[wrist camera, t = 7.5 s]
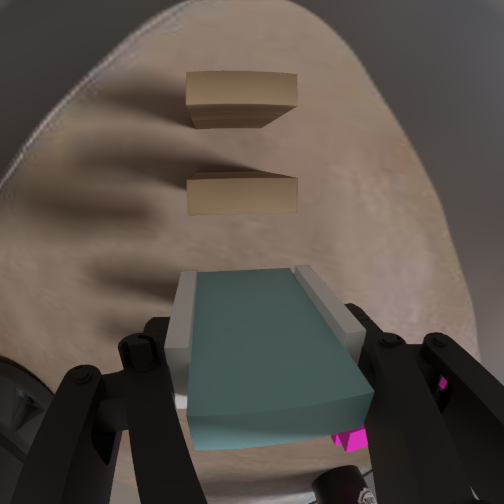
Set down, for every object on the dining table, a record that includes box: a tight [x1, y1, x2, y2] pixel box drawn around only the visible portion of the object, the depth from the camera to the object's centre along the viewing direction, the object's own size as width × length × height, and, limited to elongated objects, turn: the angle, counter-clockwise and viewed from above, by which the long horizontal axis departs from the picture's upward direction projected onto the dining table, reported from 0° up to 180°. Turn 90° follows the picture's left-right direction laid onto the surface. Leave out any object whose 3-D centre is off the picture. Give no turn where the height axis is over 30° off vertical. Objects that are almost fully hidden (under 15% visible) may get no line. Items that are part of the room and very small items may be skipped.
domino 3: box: [186, 268, 374, 450], centre depth 12 cm, size 2×5×10 cm, turn 90°
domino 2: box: [187, 171, 298, 216], centre depth 18 cm, size 2×5×10 cm, turn 91°
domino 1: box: [186, 71, 298, 129], centre depth 17 cm, size 2×5×10 cm, turn 90°
